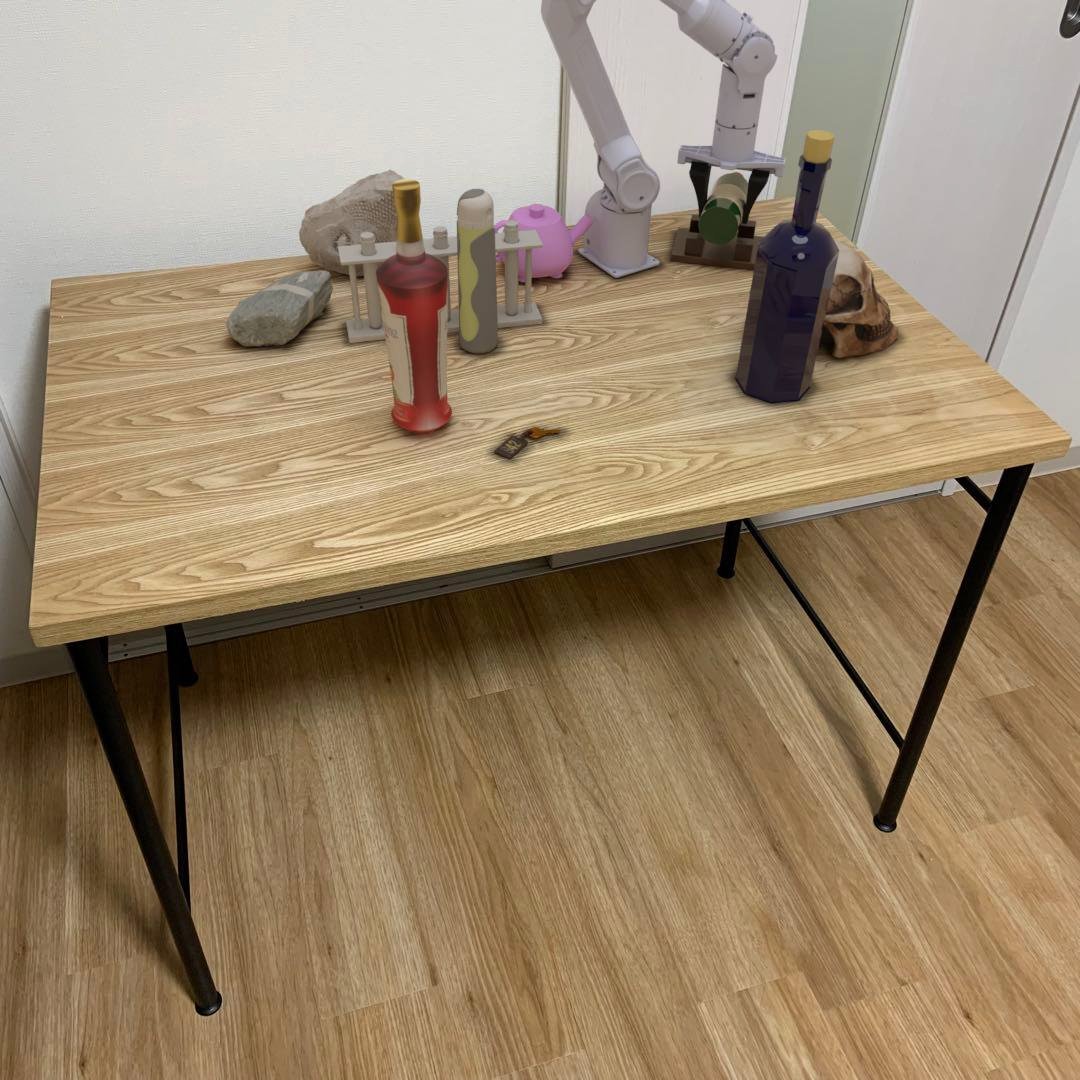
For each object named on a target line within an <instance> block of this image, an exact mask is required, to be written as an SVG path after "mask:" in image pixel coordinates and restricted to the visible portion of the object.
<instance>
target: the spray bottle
mask: <svg viewBox="0 0 1080 1080" xmlns="http://www.w3.org/2000/svg"><path fill="white" fill-rule="evenodd" d="M456 208H457V209H456V216H457V220H456V237H457V255H456V257H457V296H458V297H457V298H458V300H457V301H458V309H459V332H458V337H459V338H458V339H459V345H460V347H461V349H463V350H464V351H466V352H468V353H471V354H486V353H488V352H491V351H493V350H495V349H496V347H497V346H498V343H499V328H498V322H497V306H498V294H497V292H498V291H497V261H496V255H497V252H495V228H494V225H495V224H494V221H495V219H494V217H495V216H494V215H495V213H494V212H495V211H494V200H493V197H492V196H491V195H490V193H488V191H486V190H484V189H483V188H471V189H468V190H466V191H465V192H463V194H461V196H460V197H459V199H458V200H457V207H456Z"/></svg>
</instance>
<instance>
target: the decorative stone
mask: <svg viewBox="0 0 1080 1080" xmlns="http://www.w3.org/2000/svg"><path fill="white" fill-rule="evenodd" d="M333 290H334V287H333V284H332V275H331V273H330V272H329V270H314V271H313V270H307V271H300V272H297V273H293V274H291V275H285V276H283V277H281V278H279V279H278V280H275V281H274V282H273V283H271V284H269V285H267V286H266V287H264V288H262V289H260V290H258V291H257V292H256V293H253V294H251V295H249V296H247V297H244V298H241V299H240V300H238V304H237V306H236V307H235V308H234V309H233V311H232V312H231V313H230V314H229V316H228V317H227V319H226V321H225V324H226V325H225V326H226V328H227V332H228V333H229V335H230V336H231V338H232V339H233V340H234V342H237V343H239V344H240V345H241V346H243V347H262V346H264V347H270V346H274V347H275V346H276V347H277V346H283V345H284V346H285V345H286V344H287V343H288V342H290V341H291V340H293V339H294V338H296V337H297V336H298V334H299V333H300V332H301V331H302V330H305V329H306V326H307V325H309V324H310V323H312V322H314V321H315V320H316V319H317V318H319V317H321V316H323V315H324V312H323V311H324V309H325V307H326V306H327V305H328V304H329V303H330V301H331V298H332V294H333Z"/></svg>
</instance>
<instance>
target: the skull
mask: <svg viewBox="0 0 1080 1080" xmlns="http://www.w3.org/2000/svg"><path fill="white" fill-rule="evenodd" d="M834 241H835V243H836V245H837V247H838V249H839V250H840V251H839V256H838V260H837V265H836V269H835V274H834V279H833V283H832V288H831V292H830V297H829V301H828V306H827V311H826V315H825V320H824V324H823V329H822V334H821V338H820V343H819V347H820V346H821V347H822V346H823V347H828V348H829V350H830V353H831V356H833V357H834V358H838V359H839V358H840V359H843V358H847V357H854V356H863V355H866V354H870V353H874V352H877V351H878V350H881V351H884V350H885V349H886V348H888V347H889V346H890V345H891V344H892V343H894V342H895V340H898V338H899V329H898V328H897V326H896V325H895V323H893V322H892V321H891V318H892V317H891V309H890V306H889V303H888V302H887V300H886V298H885V297H884V296H882V295H881V294H880V293H878V291H877V289H876V286H875V276H874V274H873V271H872V269H871V268H869V267H868V265H867V264H866V262H865V260H864V258H863V257H862V255H861V254H860V253H859V252H858V251H856V249H854V248H853V247H852V246H851V245H849V243H846V242H844V241H842V240H839V239H834ZM750 290H751V287H750V288H749V291H750ZM749 296H750V294H749ZM749 296H748V297H749Z"/></svg>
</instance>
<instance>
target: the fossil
mask: <svg viewBox="0 0 1080 1080" xmlns="http://www.w3.org/2000/svg"><path fill="white" fill-rule="evenodd" d="M402 179H405V178H404V176H402V175H400V174H399V173H397V172H396V171H394V170H392V169H388V170H386V171H383V172H379V173H375V174H370V175H368V176H366V177H363V178H360V179H359V180H357V181H356V182H355V183H352V184H351V185H349V186H348V187H346V188H345V189H343V190H342V191H341V192H340V193H339V194H337V195H335V196H333V197H331V198H330V199H328V200H325V201H322V202H321V203H317V204H314V205H311V206H310V207H309V208H307V209H306V210H305V212H304V217H303V219H302V220H301V223H300V225H301V227H300V228H299V231H298V234H299V235H298V236H299V241H300V244H301V246H302V247H303V248H304V251H305V252H306V253H307V255H308V258H309V259H310V261H311V262H312V263H313V264H316V265H317V266H320V267H322V268H324V269H326V270H327V271H334V272H337V273H339V274H343V275H347V276H350V275H349V266H348V265H341V262H340V257H339V251H338V246H350V245H361V242H360V238H361V237H360V235H361V234H362V233H365V232H371V233H373V234H374V237H375V243H386V242H396V240H397V214H396V210H395V206H394V202H393V189H392V184H393V183H394V182H395V181H398V180H402ZM361 254H362V253H361ZM382 263H383V262H377V268H378V267H379V266H380V264H382ZM355 269H356V278H357V277H358V278H359V277H364V270H363V264H355Z"/></svg>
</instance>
